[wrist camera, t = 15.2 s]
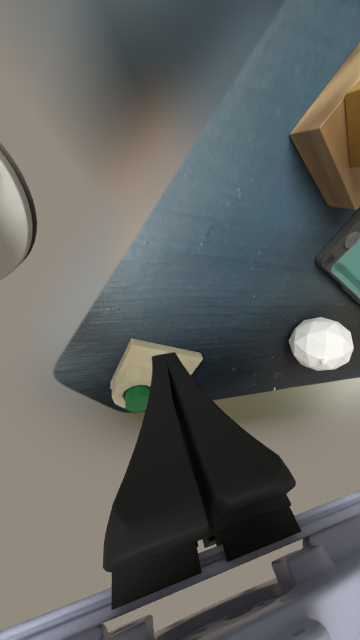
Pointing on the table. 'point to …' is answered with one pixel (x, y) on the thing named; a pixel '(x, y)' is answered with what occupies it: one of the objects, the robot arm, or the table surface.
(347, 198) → the brown flat block
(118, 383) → the box
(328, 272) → the smartphone
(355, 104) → the thumb turn
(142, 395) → the release button
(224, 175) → the table surface
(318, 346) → the ornament
